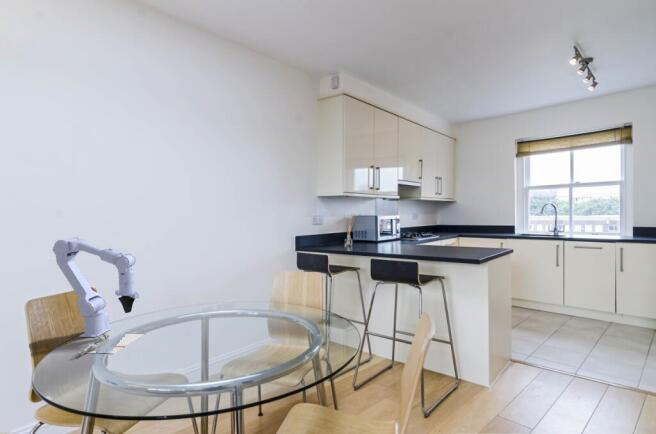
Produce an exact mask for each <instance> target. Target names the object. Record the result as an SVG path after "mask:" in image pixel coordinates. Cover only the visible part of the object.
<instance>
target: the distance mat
mask: <svg viewBox="0 0 656 434" xmlns="http://www.w3.org/2000/svg"><path fill="white" fill-rule="evenodd" d="M128 333H129V334H126V335H125V337H123V338H122V340H120V342H119V343H118V344H117V345H116V346H115V347H114V349H113V351H112V352H111V354H110V355H114V354H117V353H118V352H119V351H121V350H122V349H124V348H126V347H127V346H128V345H130V344H132V343H134V342H135V341H136V340H139V338H141V337H143V336H145V335H146V333H147V332H128ZM84 354H97V353H96V351H95V350H88V351H86V352H85V353H84Z"/></svg>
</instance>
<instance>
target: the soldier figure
mask: <svg viewBox="0 0 656 434" xmlns="http://www.w3.org/2000/svg"><path fill="white" fill-rule="evenodd" d="M102 335H103V336H101V335H99V336H98V335H95V336H96V337H95V338H98V339H96V340H95V342H94V343H90V344H87V345H86V347H85V348H80V351H81V352H80V351H77V354H78V355H80V356H83V355H84V354H86V353H85V352H87V351H88V350H95V349H97V348H98V346H99V345H100V344H101V343H103V342H104V341H106V340H108V339H109V337H110V335H109V334H106V333H103V334H102Z"/></svg>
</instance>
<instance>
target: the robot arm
mask: <svg viewBox="0 0 656 434" xmlns="http://www.w3.org/2000/svg"><path fill="white" fill-rule="evenodd" d="M51 251H52V252H53V253H54V255H55V261H56V264H57V266H58V268H59V269H60V271H61V272H62V273H63V275H64V276H65V278H66V280H67V281H68V283H69V284H70V286H71V288H72V289H73V291H74V292H75V294H76V295H77V297H78V300H77V301H76V305H77V306H78V312H79V313H80V314H81V316H82V317H83V331H84V333H82V334H80V335H79V338H97V337H96V336H95V335H98V336H101V335H103V334H106V333H107V332H109V331H110V330H112V328H111V327H110V316H109V313H108V312H107V311H106V310H104V309H105V307H106V306H107V302H106V299H105V298H104V297H102V296H101V295H100V293H99V292H96V291H94V290H93V289H92V288H91V286H90V284H89V283H88V281H87V280H86V278H85V277H84V275H83V274H82V272H81V271H80V269H79V267H78V266H77V264H76V262H75V261H74V260H75V259H76V256H77V255H78V254H79V253H80V252H83V253H84V252H85V253H88V254H91V255H95V256H98V257H99V258H100V260H101V261H102V262H106V263H107V264H111V265H113V266H115V267H116V269H117V271H118V273H117V275H118V288H119V289H116V290H115V291H114V293H115V295H116V296H117V297H118V301H119V302H120V304H121V306H122V308H123V311H124V313H125V314H129V313H131V312H132V309H133V305H134V303H135V300H137V299H140V293H139V292H137V291H135V278H134V265H135V263H136V258H135V256H134V255H132V253H126V254H125V252H123V251H122V252H119V251H118V250H115V249H114V248H113V247H110V248H109V247H106V248H102V247H99V246H97V245H95V244H92V243H90V242H89V241H86V240H85V239H83V238H79V237H72V238H64V239H59V240H57V241H55V243H54V245H53V246H52V250H51Z"/></svg>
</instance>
